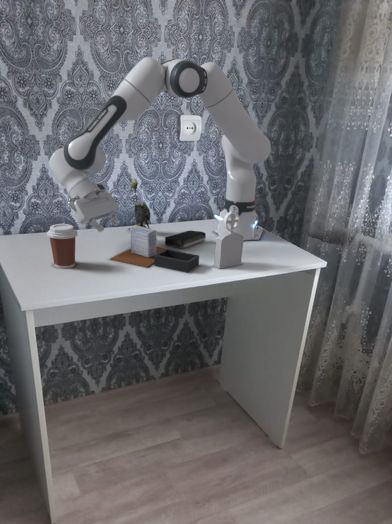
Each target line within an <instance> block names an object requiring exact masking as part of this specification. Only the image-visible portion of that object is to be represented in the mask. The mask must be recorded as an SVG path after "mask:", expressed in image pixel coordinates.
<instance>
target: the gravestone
mask: <svg viewBox="0 0 392 524" xmlns="http://www.w3.org/2000/svg"><path fill="white" fill-rule="evenodd" d="M235 216H236V219H234V217H235ZM228 218H229V220H228ZM239 222H240V217H239V215H238V213H236V212H235V210H230V212H229V213H227V214H226V216H225V218H224V221H223V224H224V227H225V228H226V229H227V230H228V231H227V232H224V233H222V234H220V235H218V236H216V238H215V248H214V249H215V250H214V262H213V265H214V266H213V267H215V268H217V269H225V268H230V267H235V266H239V265H242V259H243V258H242V257H243V248H244V247H243V246H244V240H243V239H244V236H243V235H241V234H239V233H236V232H233V230H235V229H236V228H237V227H238V225H239ZM228 223H229V228H228V226H227V224H228ZM234 223H235V225H234Z"/></svg>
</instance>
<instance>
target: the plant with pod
mask: <svg viewBox="0 0 392 524" xmlns="http://www.w3.org/2000/svg"><path fill="white" fill-rule="evenodd" d="M138 185H139V182H138V180H137V179H136V178H132V179H131V181H130V189H133V190H134V196H135V202H136V203H135V204H134V218H135V222H136V223H137V224H134V225H133V227H129V228H128V230H129V231H130V232H131V228H134V227H137V226H141V227H145V228H149V229H151V228H150V225H149V222H148V221H150V220H151V215H152V213H151V210H150V207H149V206H148V205H147V204H146V203H145V201H139V202H138V198H137V197H138V195H137V188H138ZM144 222H145V224H146V225H145V224H144Z"/></svg>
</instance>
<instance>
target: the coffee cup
mask: <svg viewBox="0 0 392 524" xmlns="http://www.w3.org/2000/svg"><path fill="white" fill-rule="evenodd" d="M46 236H47V237H49V242H50V249H51V253H52V259H53V266H54V267H56V268H57V269H58V268H59V269H69V268H73V267H74V266H76V237H78V231H77V230H76V229H75V227H74V226H73V225H72V224H69V223H55V224H51V225H50V226H49V230H48V231H47V232H46Z"/></svg>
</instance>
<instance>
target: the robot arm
mask: <svg viewBox="0 0 392 524" xmlns="http://www.w3.org/2000/svg"><path fill="white" fill-rule="evenodd" d="M163 92H164V93H166V94H168V95H171V96H173V97H175V98H180V99H190V98H193V97H197V96H198V97H199V98H200V99H201V102H202V104H203V105H204V107H205V109H206V110H207V112H208V114H209V116H210V117H211V119H212V121H213V123H214V125H215V127H217V129H218V130H219V131H220V132H221V133H222V134H223V135H222V137H221V141H220V142H221V148H222V150H223V153H224V160H225V167H226V188H225V189H226V190H225V197H224V201H223V209H222V210H221V211H220V212H219V216H218V215H216V214H214V218H216V219H217V220H218V225H217V228H215V229H214V233H215V234H217V235H218V236H219V235H220V234H222V233H224V232H227V231H228V230H227V229H226V228H225V227H224V224H223V221H224V218H225V216H226V214H227V213H229V212H230V210H235V212H236V213H238V215H239V217H240V222H239V225H238V227H237V228H236V229H235V230H233V232H236V233H239V234H241V235H243V236H244V239H243V241H253V240H254V241H259V240H260V239H261V237H262V235H263V232H264V228H262V227H260V226H259V223H260V217H259V215H258V213H257V212H256V205H257V203H258V199H257V198H255V197H256V188H257V176H256V173H255V171H254V165H255V164H257V165H258V164H262V163H264V162H265V161H266V160H267V159H268V158H269V156H270V153H271V150H272V145H271V144H272V143H271V142H270V139H269V138H268V137H267V135H265V134H264V132H262V130H261V128H259V126H258V125H257V123H256V122H255V120H254V119H253V118H252V116H250V114H249V112H248V111H247V110H246V109H245V107H244V105H243V104H242V101H241V100H240V98H239V96H238V94H237V92H236V90H235V89H234V86H233V85H232V83H231V81H230V79H229V78H228V76H227V74H226V73H225V72H224V70H223V69H222V68H221V66H220V65H219V64H217V63H216V62H214V61H208V62H204V63H202V64H201V65H199V64H197V63H196V62H194V61H192V60H188V59H185V58H176V59H175V58H172V59H168V60H166V61H163V62H160V61H158V59H156V58H154V57H151V56H145V57H144V58H141V60H139V61H138V62H137V63H136V64H135V65H134V66H133V68H132V69H131V70H130V71H129V72H128V73H127V75H125V77H124V79H123V80H122V81H121V82H120V84H119V85H118V87H117V88H116V89H115V91H114V92H113V93H112V95H111V96H110V97H109V98H108V99H107V100H106V102H105V103H103V105H102V106H101V107H100V109H98V110H97V112H96V113H95V114H94V115H93V116H92V117H91V119H90V120H89V121H88V123H87V124H86V125H85V126H84V127H83V128H82V129H81V130H80V131H79V132H77V133H75V134H74V135H72V136H70V137H69V138H68V139H67V140H66V142H65V143H64V146H63V147H60V148H58V149H56V150H55V151H54V152H53V153H52V155H51V156H50V158H49V161H48V164H49V165H48V166H49V169H50V170H51V173H52V174H53V175H54V177H55V178H56V179H57V182H58V183H59V184H60V185H61V186H62V187H64V189H65V190H66V192H67V194H68V195H69V199H68V201H67V204H68V206H69V207H70V210H71V213H72V214H73V216H74V218H75V219H76V220H77V222H78V223H79V224H81V226H83V225H87V224H89V225H90V226H92V228H94V229H96V231H98V233H102V232H103V231H104V230H105V227H104V225H103V224H100V223H99V222H97V220H101V219H104V218H106V217H109V218H110V219H111V221H112V222H111V224H112V225H113V226H114V227H116V226H117V227H118V226H119V225H120V221H119V219H118V217H117V212H118V211H119V210H120V208H119V204H118V202H117V201H116V199H115V198H114V196H112V194H111V193H110V192H109V191H107V187H106V185H104V184H102V183H98V182H94V181H92V180H91V179H90V178H91V177H93V176H94V175H96V174H98V173H99V172H101V171H102V170H103V169H104V167H105V166H106V162H107V157H106V152H105V151H104V149H102V147H100V144H102V142H103V140H104V139H105V138H106V137H107V136H108V135H109V133H110V132H111V131H112V130H113V129H114V128H115V126H117V125H119V123H120V124H121V123H123V122H128V121H129V122H130V121H136V120H138V119H139V118H141V117H142V116H143V115H144V114H145V113H146V112H147V110H148V109H149V108H150V107H151V105H152V104H153V103H154V101H155V100H156V98H157V97H158V96H159V95H160V94H162V93H163ZM234 219H236V216H235V217H234ZM228 220H229V218H228ZM234 225H235V223H234ZM227 226H228V228H229V223H228V224H227Z"/></svg>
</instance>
